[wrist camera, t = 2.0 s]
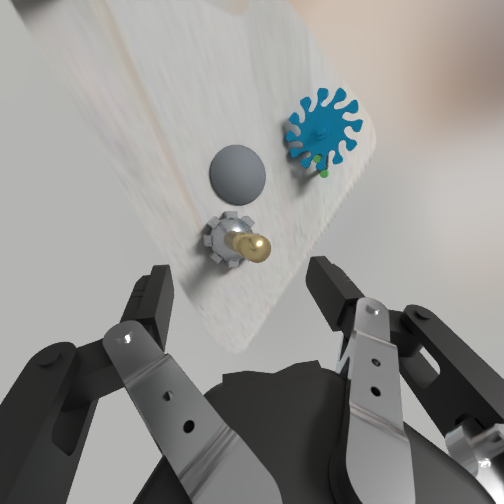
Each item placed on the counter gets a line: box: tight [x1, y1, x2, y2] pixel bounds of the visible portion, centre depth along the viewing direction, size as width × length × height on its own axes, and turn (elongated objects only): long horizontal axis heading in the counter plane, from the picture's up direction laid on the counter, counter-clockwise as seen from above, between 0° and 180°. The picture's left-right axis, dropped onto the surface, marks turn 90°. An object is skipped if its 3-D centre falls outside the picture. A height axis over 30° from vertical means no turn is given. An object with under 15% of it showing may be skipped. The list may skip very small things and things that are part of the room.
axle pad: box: [210, 145, 266, 204], centre depth 31 cm, size 8×8×1 cm
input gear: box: [203, 211, 271, 268], centre depth 26 cm, size 8×8×12 cm
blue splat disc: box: [286, 88, 363, 178], centre depth 32 cm, size 11×6×10 cm
